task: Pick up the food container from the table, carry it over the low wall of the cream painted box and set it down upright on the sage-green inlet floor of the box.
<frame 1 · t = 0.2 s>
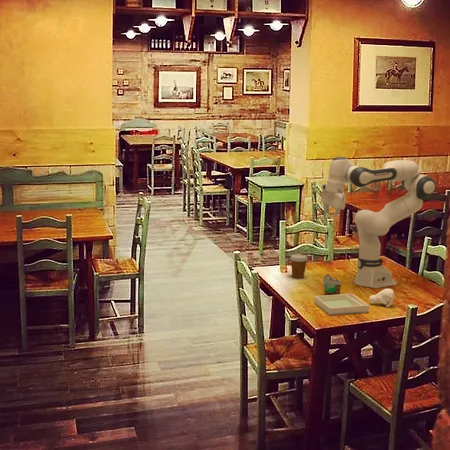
hand: (331, 214, 359), 39 cm above the table, tool pointing down, fingers open, 8 cm apart
white animal figurine: (380, 305, 339), on the table
food container: (328, 297, 350), on the table
disposable coffee cup: (297, 277, 382), on the table
walled box: (341, 307, 334), on the table
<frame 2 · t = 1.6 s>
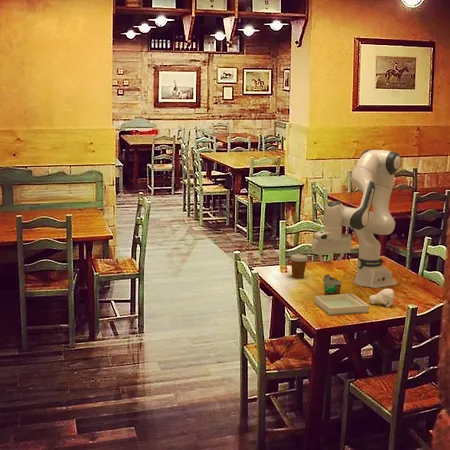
hand: (330, 261, 346), 19 cm above the table, tool pointing down, fingers open, 8 cm apart
nothing on the table moved.
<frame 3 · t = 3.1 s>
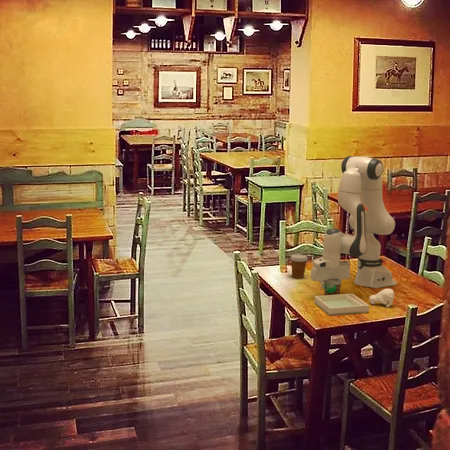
hand: (329, 288, 349), 5 cm above the table, tool pointing down, fingers open, 6 cm apart
food container: (328, 297, 350), on the table, touching gripper
everything else where it was.
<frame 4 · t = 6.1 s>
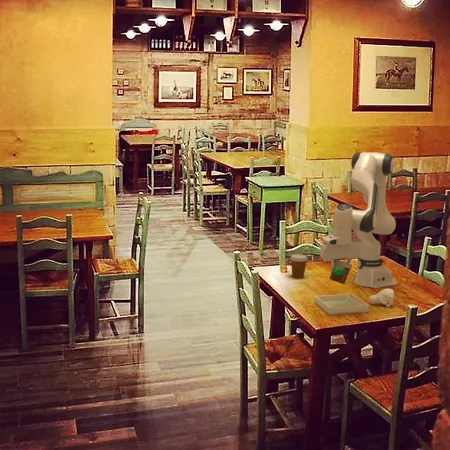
hand: (340, 267, 329), 20 cm above the table, tool pointing down, fingers closed on food container, 5 cm apart
food container: (333, 280, 330), point 14 cm above the table, touching gripper
everything else where it was.
when the fingers open (8 cm above the table, at t = 8.5 s): food container moves 1 cm, resting on walled box.
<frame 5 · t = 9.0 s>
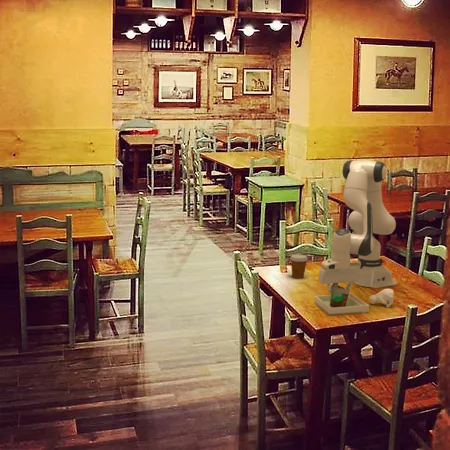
hand: (338, 291, 332), 8 cm above the table, tool pointing down, fingers open, 8 cm apart
food container: (334, 306, 333), point 1 cm above the table, touching walled box
everything else where it was.
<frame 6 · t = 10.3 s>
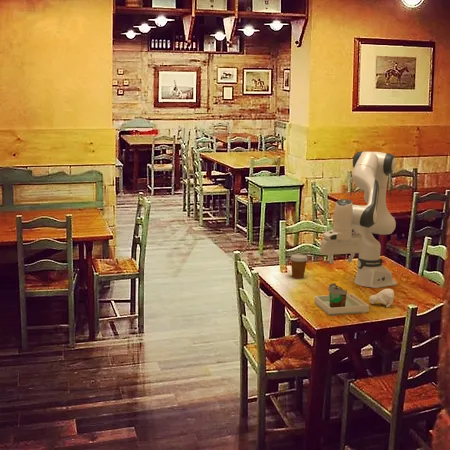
hand: (340, 262, 329), 23 cm above the table, tool pointing down, fingers open, 8 cm apart
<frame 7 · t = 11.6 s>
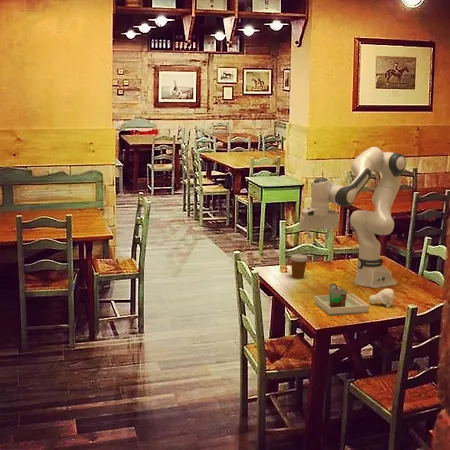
hand: (318, 237, 351), 29 cm above the table, tool pointing down, fingers open, 8 cm apart
nothing on the table moved.
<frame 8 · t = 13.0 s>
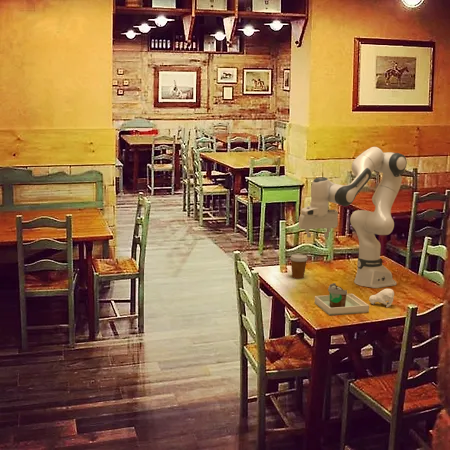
hand: (317, 236, 351), 29 cm above the table, tool pointing down, fingers open, 8 cm apart
nothing on the table moved.
at the end: food container inside the target area on the walled box (1.9 cm from its centre), point 0.6 cm above the walled box's base; food container tilted 0°; the gripper is holding nothing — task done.
